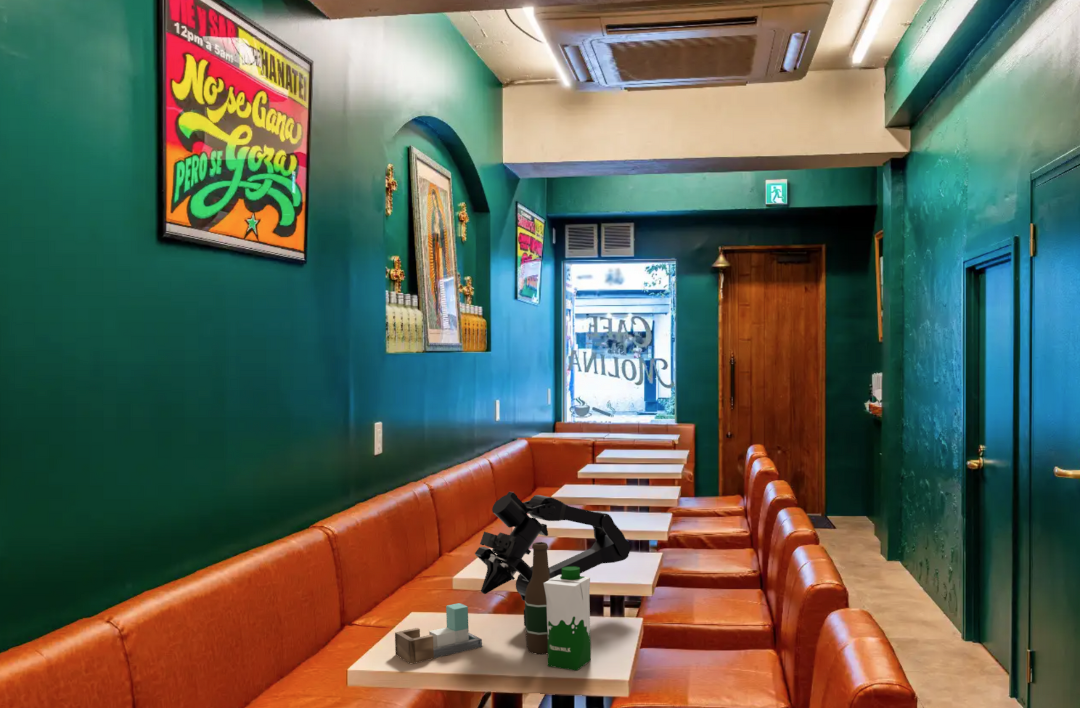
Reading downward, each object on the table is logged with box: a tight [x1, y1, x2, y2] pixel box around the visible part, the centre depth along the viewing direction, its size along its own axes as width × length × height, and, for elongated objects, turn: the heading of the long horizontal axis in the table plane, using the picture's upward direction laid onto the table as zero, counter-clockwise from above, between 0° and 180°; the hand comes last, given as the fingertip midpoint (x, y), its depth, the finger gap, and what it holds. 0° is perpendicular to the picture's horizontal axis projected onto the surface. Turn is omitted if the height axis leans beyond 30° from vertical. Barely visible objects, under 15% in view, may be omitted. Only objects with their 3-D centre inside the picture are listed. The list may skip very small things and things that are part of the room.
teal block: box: [428, 602, 470, 648], centre depth 201 cm, size 8×4×9 cm, turn 124°
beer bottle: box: [524, 541, 550, 655], centre depth 199 cm, size 8×8×24 cm
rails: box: [433, 632, 483, 659], centre depth 201 cm, size 12×7×2 cm, turn 124°
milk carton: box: [544, 566, 592, 671], centre depth 189 cm, size 9×9×20 cm
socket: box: [394, 627, 435, 664], centre depth 196 cm, size 6×8×5 cm
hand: (482, 592), depth 206 cm, fingers closed
